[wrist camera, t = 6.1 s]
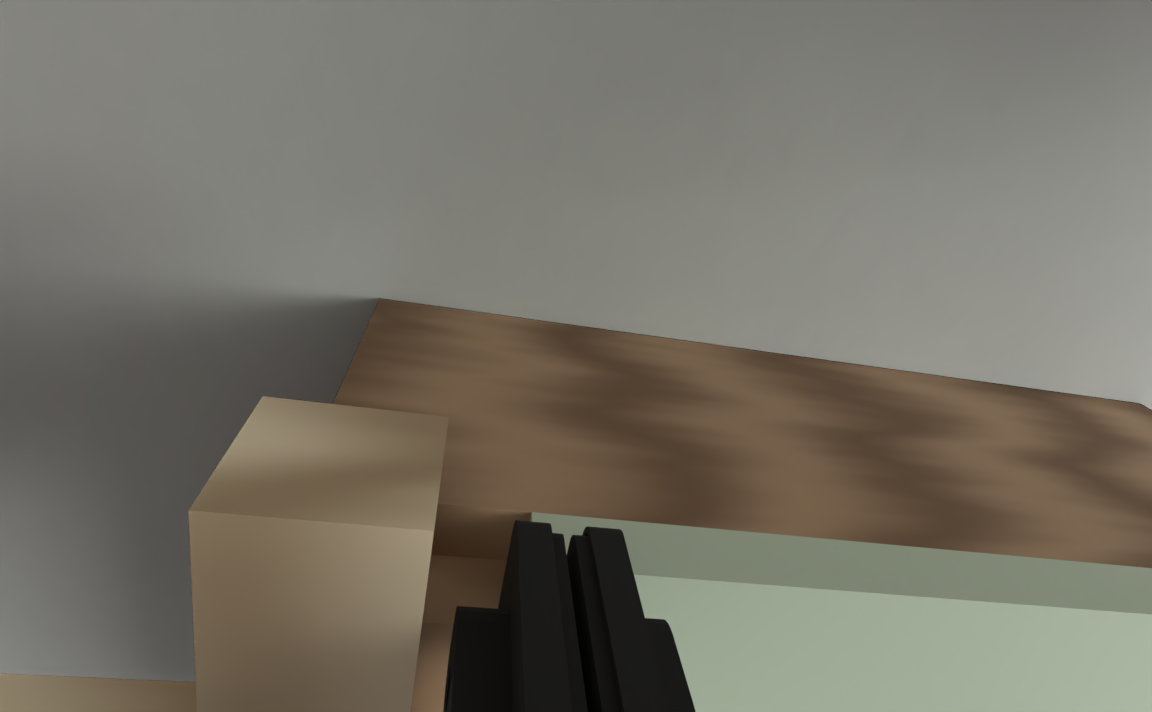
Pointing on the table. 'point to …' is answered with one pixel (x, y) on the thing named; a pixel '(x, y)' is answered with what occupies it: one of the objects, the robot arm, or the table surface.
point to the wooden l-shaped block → (295, 571)
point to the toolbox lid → (887, 623)
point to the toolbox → (736, 450)
